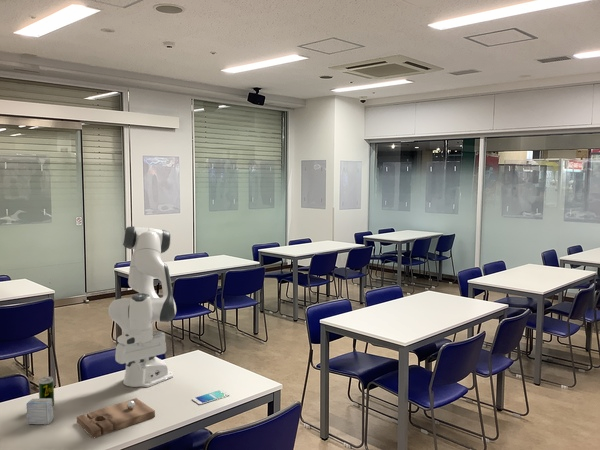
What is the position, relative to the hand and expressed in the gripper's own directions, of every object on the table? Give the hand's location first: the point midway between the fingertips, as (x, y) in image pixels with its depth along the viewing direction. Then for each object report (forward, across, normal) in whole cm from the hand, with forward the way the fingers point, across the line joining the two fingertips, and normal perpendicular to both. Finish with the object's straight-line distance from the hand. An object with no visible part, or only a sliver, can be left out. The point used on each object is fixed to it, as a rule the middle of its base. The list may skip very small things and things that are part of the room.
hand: (141, 369), depth 200 cm
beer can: (+18, +27, -30) cm, 44 cm away
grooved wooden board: (+18, +11, 0) cm, 21 cm away
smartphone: (+18, -27, +8) cm, 33 cm away
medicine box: (+18, +33, -18) cm, 41 cm away
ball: (+15, +5, 0) cm, 16 cm away
